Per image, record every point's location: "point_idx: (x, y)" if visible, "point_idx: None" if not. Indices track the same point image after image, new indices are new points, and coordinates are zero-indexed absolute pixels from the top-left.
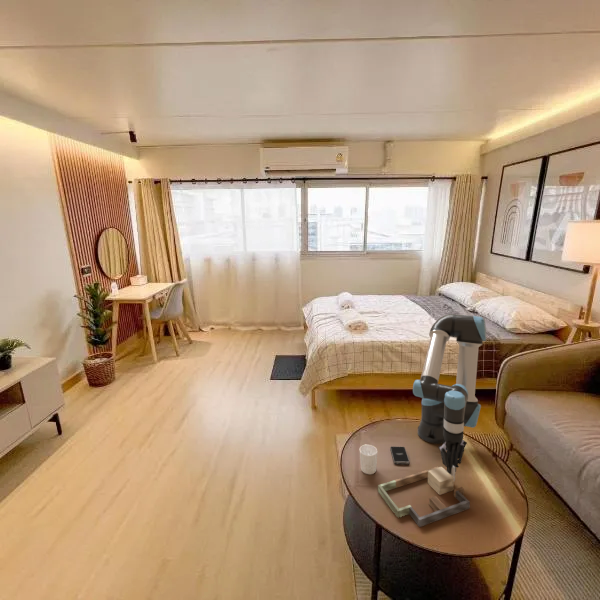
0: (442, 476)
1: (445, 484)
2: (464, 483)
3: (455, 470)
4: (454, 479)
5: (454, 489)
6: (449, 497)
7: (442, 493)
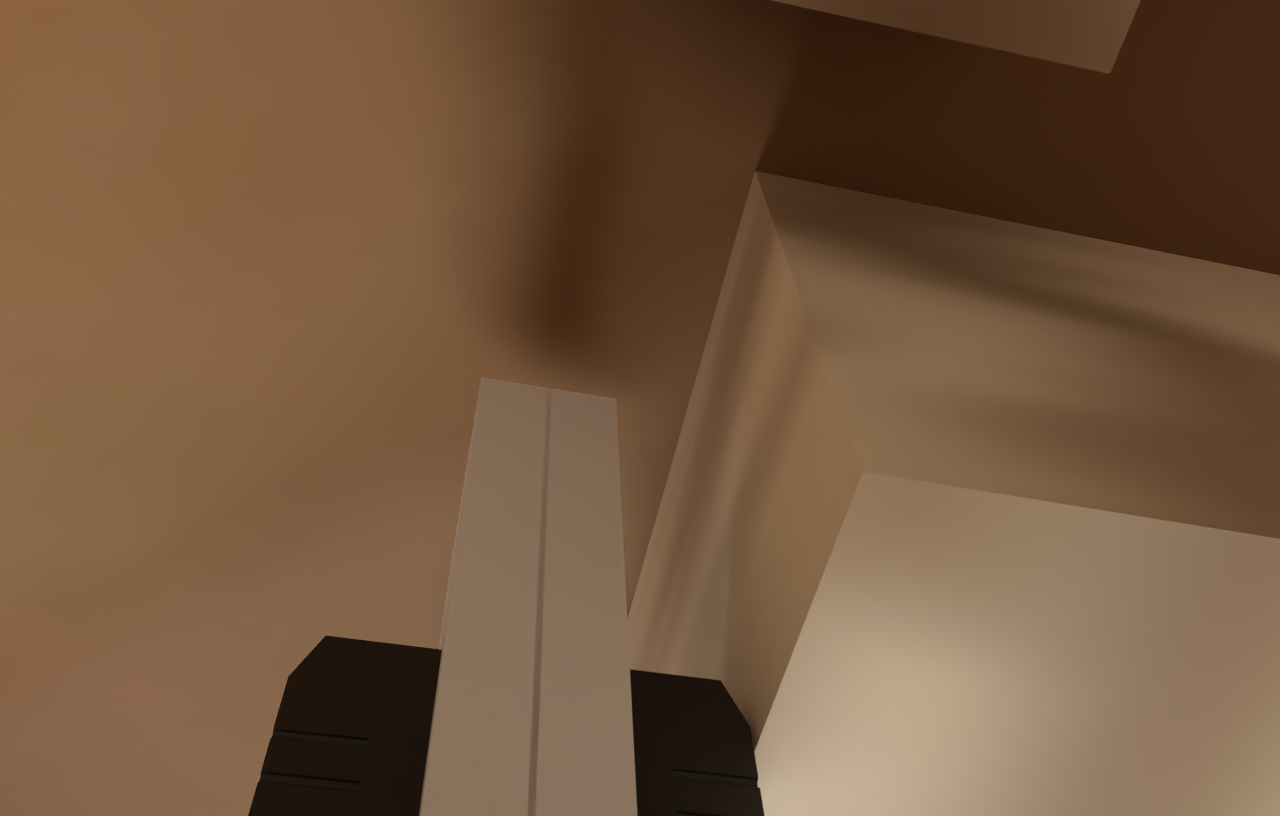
0: (1207, 744)
1: (1246, 416)
2: (109, 155)
3: (333, 712)
4: (502, 415)
5: (1091, 61)
6: (1181, 30)
7: (1197, 262)
